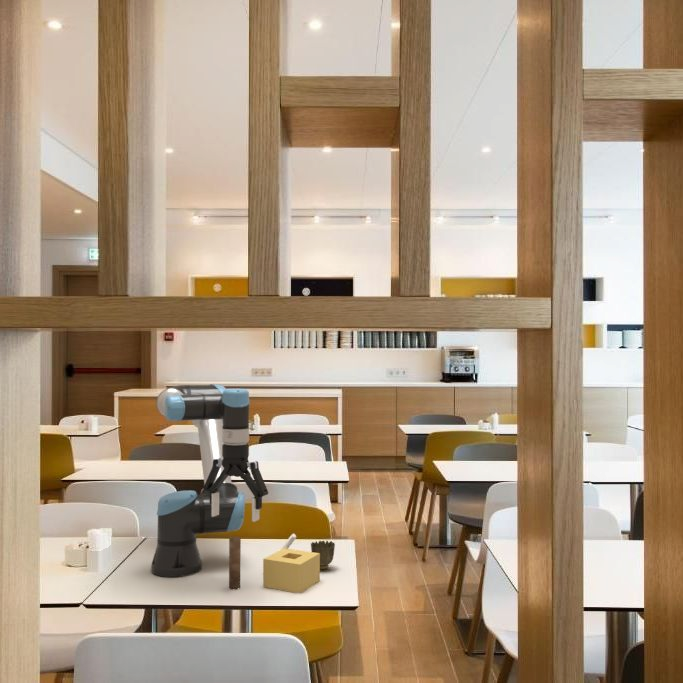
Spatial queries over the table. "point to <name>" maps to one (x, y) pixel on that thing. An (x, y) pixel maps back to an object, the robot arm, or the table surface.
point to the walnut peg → (234, 562)
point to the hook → (289, 541)
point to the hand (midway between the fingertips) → (235, 518)
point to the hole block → (291, 570)
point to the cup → (324, 552)
